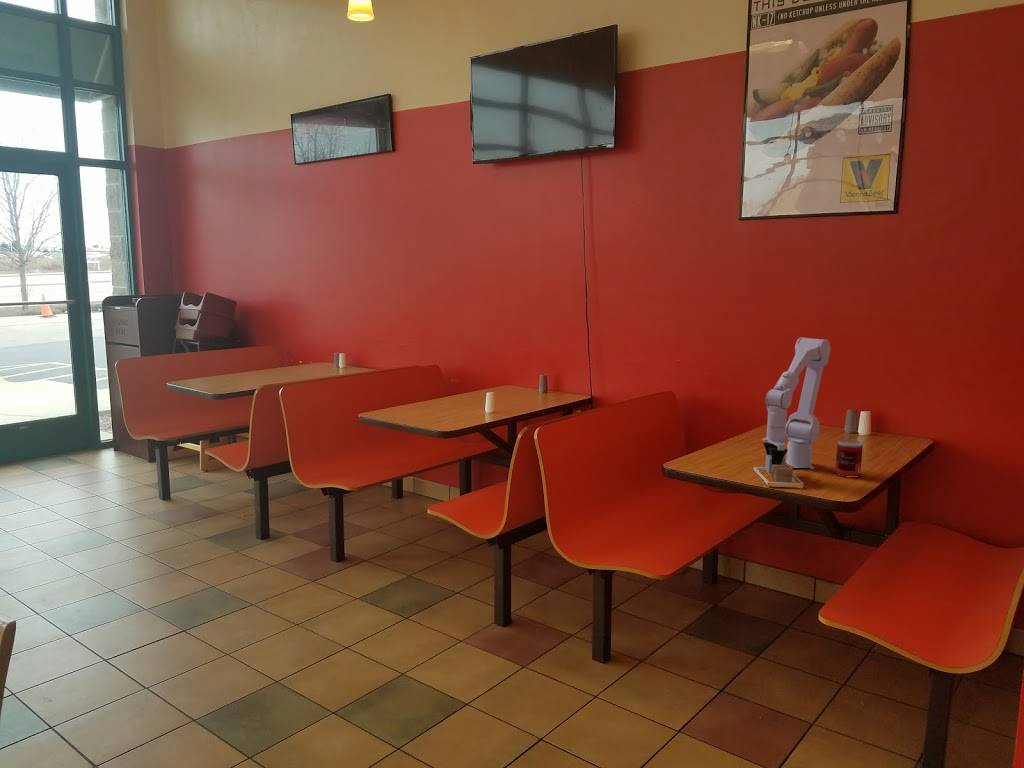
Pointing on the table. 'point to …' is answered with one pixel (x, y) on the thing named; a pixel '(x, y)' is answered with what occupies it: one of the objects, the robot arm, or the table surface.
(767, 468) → the slate-blue block
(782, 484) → the white flat frame
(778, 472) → the translucent beige cube
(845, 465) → the canned food
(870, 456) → the table surface
